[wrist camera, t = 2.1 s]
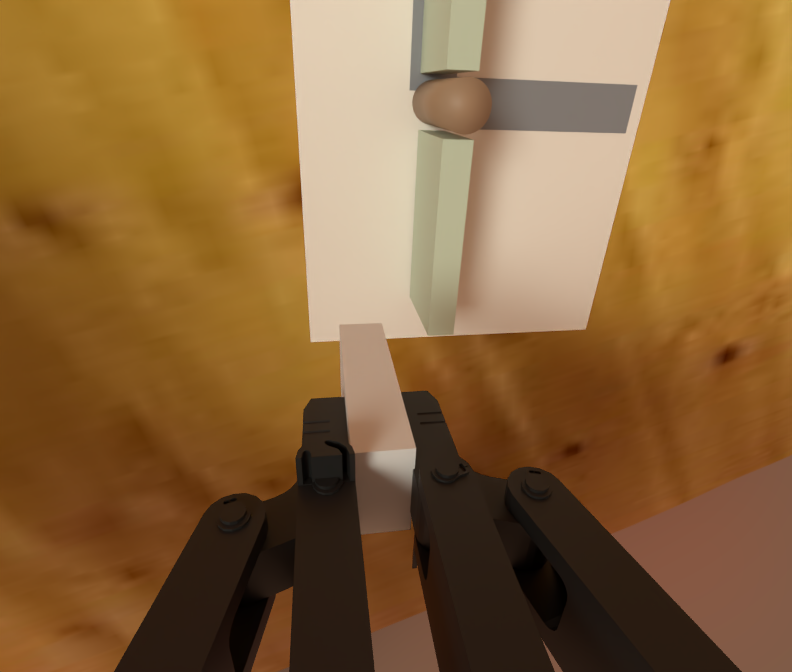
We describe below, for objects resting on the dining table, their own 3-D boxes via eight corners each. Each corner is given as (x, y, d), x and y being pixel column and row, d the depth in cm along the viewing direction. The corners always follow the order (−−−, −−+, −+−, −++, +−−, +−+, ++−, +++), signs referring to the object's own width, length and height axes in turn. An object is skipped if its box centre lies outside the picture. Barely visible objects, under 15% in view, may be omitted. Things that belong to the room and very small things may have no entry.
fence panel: (409, 296, 33) (427, 335, 28) (418, 130, 28) (442, 139, 23) (431, 296, 33) (453, 334, 28) (443, 130, 28) (473, 139, 23)
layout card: (310, 340, 34) (310, 342, 34) (269, -337, 19) (269, -344, 19) (583, 327, 37) (586, 329, 37) (731, -254, 22) (737, -259, 22)
